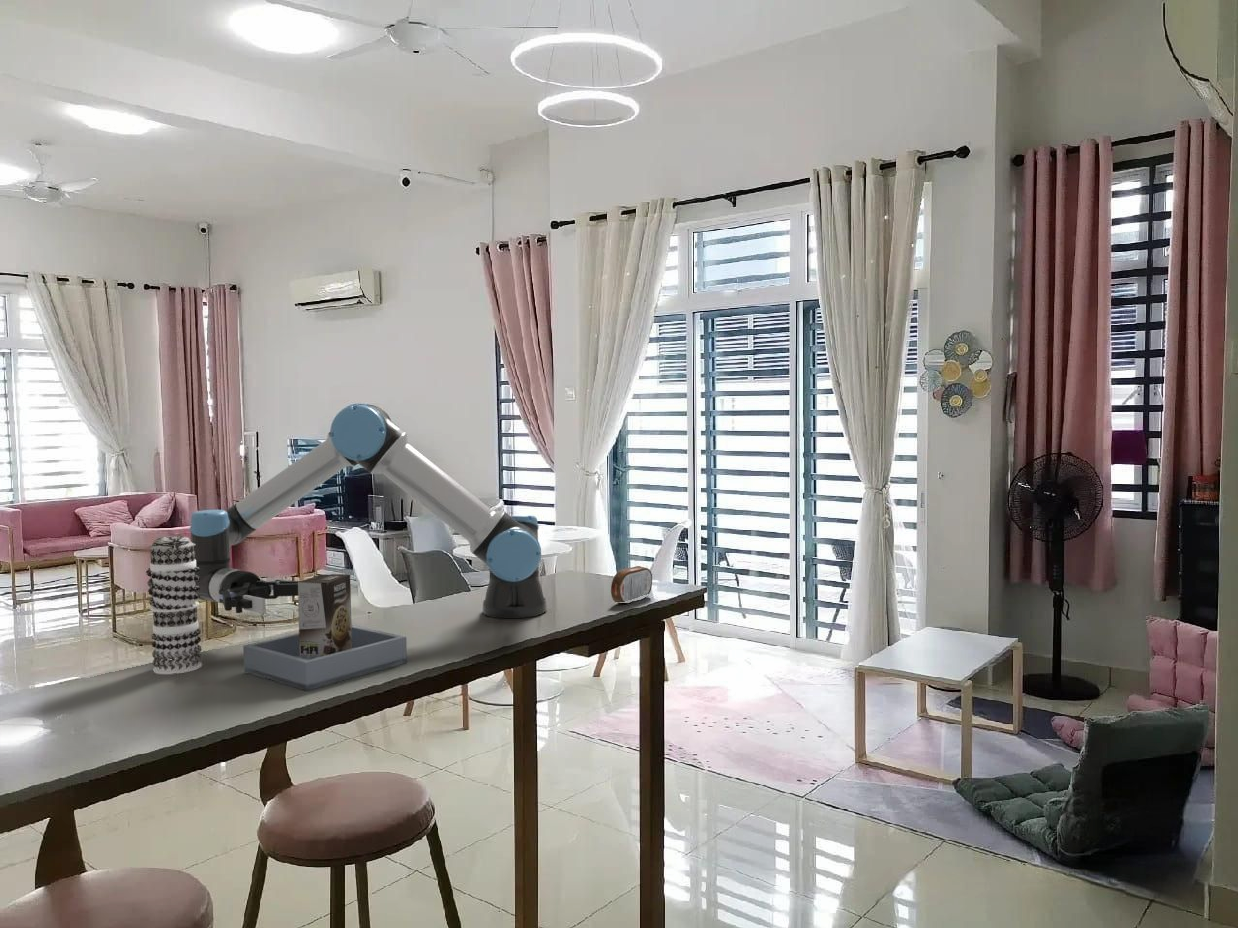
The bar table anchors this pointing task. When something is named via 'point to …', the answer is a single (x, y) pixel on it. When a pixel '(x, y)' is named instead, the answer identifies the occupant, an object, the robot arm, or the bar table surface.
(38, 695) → the bar table surface
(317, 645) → the cookie box
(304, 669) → the tray
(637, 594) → the tin
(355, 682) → the bar table surface
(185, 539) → the decorative candle
